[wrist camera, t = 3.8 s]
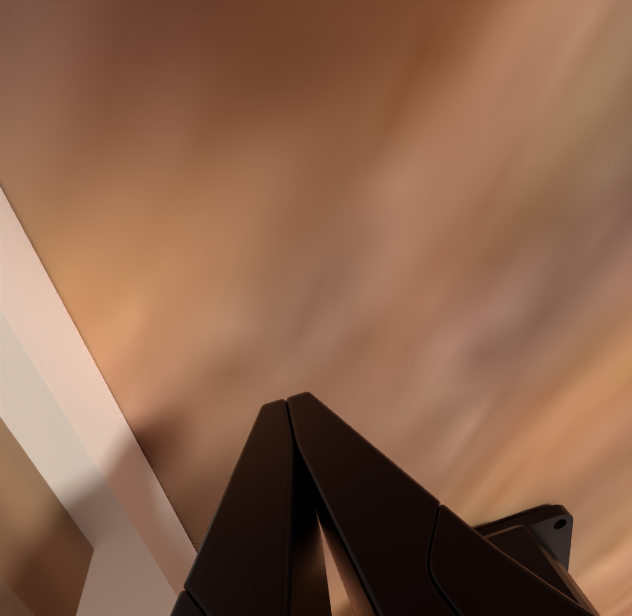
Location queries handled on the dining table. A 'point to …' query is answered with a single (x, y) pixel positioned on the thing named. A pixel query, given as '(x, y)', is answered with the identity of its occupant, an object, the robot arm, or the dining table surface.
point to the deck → (83, 443)
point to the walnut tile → (36, 541)
